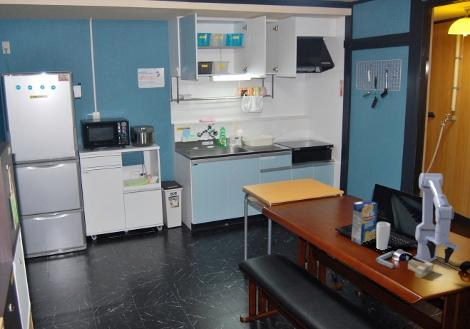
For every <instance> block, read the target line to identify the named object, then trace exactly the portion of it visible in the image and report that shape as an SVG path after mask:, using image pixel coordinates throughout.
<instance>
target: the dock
mask: <svg viewBox="0 0 470 329" xmlns="http://www.w3.org/2000/svg"><path fill="white" fill-rule="evenodd" d="M394 252H396V251H394V250H392V251H389V252H387V253H386V252H385V253H384V254H382V255H379V256H378V257H376V258H375V263H378V264H380V265H383V266H386V267H388V268H390V269H394V263H392V262H390V261H388V260H387V259H388V258H390V257H392V254H393V253H394ZM409 258H410V256H408V255H406V260H405V261H410V259H409Z"/></svg>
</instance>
